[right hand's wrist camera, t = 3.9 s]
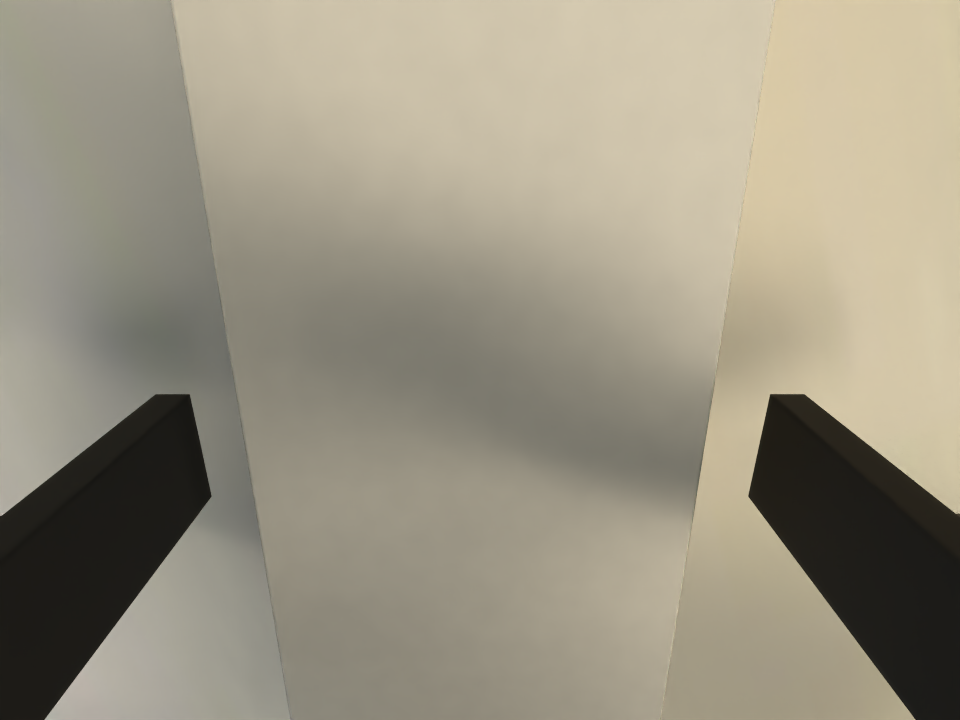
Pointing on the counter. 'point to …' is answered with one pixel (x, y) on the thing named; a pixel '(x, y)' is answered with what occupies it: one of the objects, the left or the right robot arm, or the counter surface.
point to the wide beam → (474, 331)
